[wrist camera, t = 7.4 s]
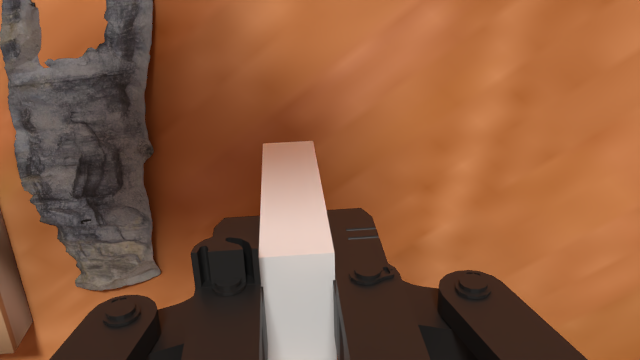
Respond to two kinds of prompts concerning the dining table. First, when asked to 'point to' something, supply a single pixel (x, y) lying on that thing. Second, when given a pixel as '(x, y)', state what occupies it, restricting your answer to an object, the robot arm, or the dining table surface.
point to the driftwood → (86, 140)
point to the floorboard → (11, 298)
